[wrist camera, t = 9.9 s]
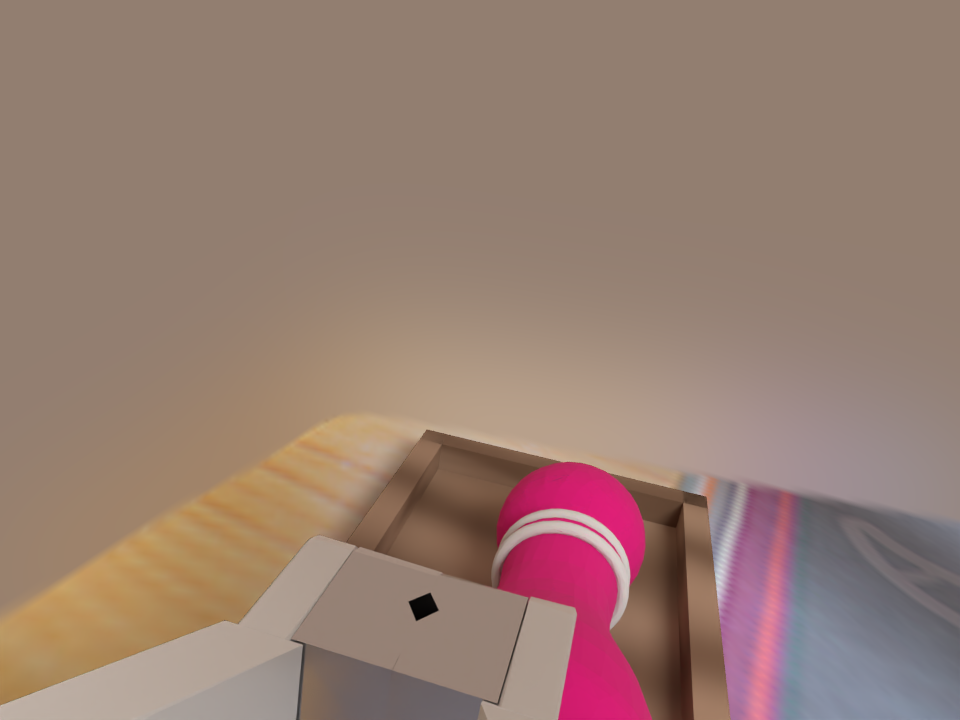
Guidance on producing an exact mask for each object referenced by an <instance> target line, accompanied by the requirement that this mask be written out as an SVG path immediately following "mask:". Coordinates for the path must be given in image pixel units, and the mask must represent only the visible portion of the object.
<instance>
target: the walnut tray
mask: <svg viewBox="0 0 960 720" xmlns="http://www.w3.org/2000/svg"><path fill="white" fill-rule="evenodd" d="M554 463H563V462H559V461H555V460H551V459H547V458H543V457H539V456H534V455H530V454H526V453H522V452H518V451H514V450H510V449H505V448H501V447H497V446H493V445H489V444H485V443H480V442H476V441H472V440H468V439H464V438H460V437H455V436H451V435H447V434H443V433H439V432H435V431H430V430H426V431H425V433H424V434H423V436H422V437H421V438H420V440H419V441H418V443H417V444H416V445H415V447H414V448H413V450H412V451H411V452H410V454H409V455H408V457H407V458H406V459H405V461H404V462H403V464H402V465H401V467H400V468H399V469H398V471H397V472H396V474H395V475H394V476H393V478H392V479H391V481H390V482H389V483H388V485H387V486H386V488H385V489H384V490H383V492H382V493H381V495H380V496H379V497H378V499H377V500H376V502H375V503H374V504H373V506H372V507H371V509H370V510H369V511H368V513H367V514H366V516H365V517H364V518H363V520H362V521H361V523H360V524H359V525H358V527H357V528H356V530H355V531H354V532H353V534H352V535H351V537H350V538H349V539H348V541H347V542H346V543H348V544H351V545H355V546H356V547H358V548H359V547H362V548H365V549H369V550H372V551H375V552H378V553H381V554H385V555H388V556H391V557H394V558H398V559H401V560H404V561H407V562H410V563H414V564H417V565H420V566H423V567H426V568H430V569H433V570H436V571H439V572H442V573H443V574H447V575H451V576H454V577H458V578H461V579H465V580H468V581H472V582H476V583H479V584H483V585H486V586H490V587H492V579H491V571H492V564H493V560H494V558H495V555H496V553H497V551H498V547H497V522H498V518H499V514H500V511H501V509H502V507H503V504H504V502H505V500H506V498H507V496H508V495H509V493H510V492H511V490H512V489H513V488H514V487H515V486H516V485H517V484H518V483H519V482H520V480H521V479H523V478H524V477H525V476H527V475H528V474H530V473H531V472H533V471H535V470H537V469H539V468H541V467H544V466H548V465H551V464H554ZM608 474H609V473H608ZM610 475H611V476H613V477H614V478H616V479H617V480H618V481H619V482H620V483H621V484H622V485H623V486H624V487H625V488H626V489H627V490H628V492H629V493H630V494H631V495H632V497H633V499H634V500H635V502H636V504H637V505H638V508H639V511H640V513H641V516H642V519H643V522H644V529H645V544H646V548H645V553H644V559H643V562H642V565H641V567H640V570H639V573H638V575H637V577H636V578H635V579H634V581H633V582H632V584H631V585H630V587H629V598H628V602H627V606H626V608H625V611H624V613H623V615H622V617H621V618H620V620H619V621H618V622H617V623H616V625H615V626H614V627H613V628H612V629H610V633H611V635H612V637H613V639H614V641H615V642H616V644H617V645H618V647H619V649H620V650H621V652H622V653H623V655H624V657H625V658H626V660H627V661H628V663H629V664H630V666H631V668H632V670H633V672H634V674H635V676H636V678H637V680H638V682H639V685H640V687H641V690H642V693H643V696H644V698H645V701H646V704H647V706H648V709H649V712H650V715H651V717H652V720H730V711H729V702H728V693H727V683H726V674H725V665H724V656H723V646H722V637H721V628H720V619H719V609H718V600H717V591H716V582H715V572H714V563H713V554H712V545H711V535H710V526H709V517H708V508H707V498H706V497H705V496H701V495H697V494H693V493H688V492H684V491H680V490H676V489H672V488H668V487H663V486H659V485H655V484H651V483H647V482H643V481H638V480H634V479H630V478H626V477H622V476H618V475H614V474H610Z"/></svg>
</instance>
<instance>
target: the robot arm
mask: <svg viewBox="0 0 960 720" xmlns="http://www.w3.org/2000/svg"><path fill="white" fill-rule="evenodd" d="M528 602H529V603H528ZM576 617H577V612H576V609H575V608H574V607H570V606H566V605H562V604H558V603H555V602H551V601H547V600H543V599H539V598H535V597H531V598H530V600H529V597H525V596H522V595H518V594H515V593H511V592H507V591H504V590H500V589H497V588H493V587H490V586H486V585H483V584H479V583H476V582H472V581H468V580H465V579H461V578H458V577H454V576H451V575H447V574H443V573H442V572H439V571H436V570H433V569H430V568H426V567H423V566H420V565H417V564H414V563H410V562H407V561H404V560H401V559H398V558H394V557H391V556H388V555H385V554H381V553H378V552H375V551H372V550H369V549H365V548H362V547H359V548H358V547H356V546H355V545H351V544H348V543H344V542H341V541H338V540H334V539H331V538H328V537H324V536H321V535H317V536H315V537H312V538H310V539H309V540H307V542H306V543H305V544H304V545H303V546H302V548H301V549H300V550H299V551H298V552H297V554H296V555H295V556H294V557H293V558H292V560H291V561H290V562H289V563H288V564H287V566H286V567H285V568H284V569H283V570H282V572H281V573H280V574H279V575H278V576H277V578H276V579H275V580H274V581H273V582H272V584H271V585H270V586H269V587H268V588H267V590H266V591H265V592H264V593H263V594H262V596H261V597H260V598H259V599H258V600H257V602H256V603H255V604H254V605H253V606H252V608H251V609H250V610H249V611H248V612H247V614H246V615H245V616H244V617H243V618H242V620H241V621H240V622H239V623H238V624H235V623H232V622H229V621H225V620H224V621H222V622H219V623H216V624H214V625H211V626H208V627H206V628H203V629H200V630H198V631H195V632H192V633H190V634H187V635H185V636H182V637H179V638H177V639H174V640H171V641H169V642H166V643H163V644H161V645H158V646H156V647H153V648H150V649H148V650H145V651H142V652H140V653H137V654H134V655H132V656H129V657H127V658H124V659H121V660H119V661H116V662H113V663H111V664H108V665H105V666H103V667H100V668H98V669H95V670H92V671H90V672H87V673H84V674H82V675H79V676H76V677H74V678H71V679H69V680H66V681H63V682H61V683H58V684H55V685H53V686H50V687H47V688H45V689H42V690H40V691H37V692H34V693H32V694H29V695H26V696H24V697H21V698H18V699H16V700H13V701H11V702H8V703H5V704H3V705H0V720H558V716H559V711H560V705H561V700H562V694H563V689H564V683H565V678H566V672H567V667H568V661H569V656H570V650H571V645H572V639H573V634H574V628H575V623H576Z"/></svg>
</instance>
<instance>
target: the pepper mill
mask: <svg viewBox="0 0 960 720" xmlns="http://www.w3.org/2000/svg"><path fill="white" fill-rule="evenodd" d="M497 547H498V551H497V553H496V555H495V558H494V560H493V564H492V571H491V579H492V587H493V588H497V589H500V590H504V591H507V592H511V593H515V594H518V595H522V596H525V597H529V600H530V598H531V597H535V598H539V599H543V600H547V601H551V602H555V603H558V604H562V605H566V606H570V607H574V608H575V609H576V612H577V617H576V623H575V628H574V634H573V639H572V645H571V650H570V656H569V661H568V667H567V672H566V678H565V683H564V689H563V694H562V700H561V705H560V711H559V716H558V720H652V717H651V715H650V712H649V709H648V706H647V704H646V701H645V698H644V696H643V693H642V690H641V687H640V685H639V682H638V680H637V678H636V676H635V674H634V672H633V670H632V668H631V666H630V664H629V663H628V661H627V660H626V658H625V657H624V655H623V653H622V652H621V650H620V649H619V647H618V645H617V644H616V642H615V641H614V639H613V637H612V635H611V633H610V629H612V628H613V627H614V626H615V625H616V623H617V622H618V621H619V620H620V618H621V617H622V615H623V613H624V611H625V608H626V606H627V602H628V598H629V587H630V585H631V584H632V582H633V581H634V579H635V578H636V577H637V575H638V573H639V570H640V567H641V565H642V562H643V559H644V553H645V548H646V544H645V529H644V522H643V519H642V516H641V513H640V511H639V508H638V505H637V504H636V502H635V500H634V499H633V497H632V495H631V494H630V493H629V492H628V490H627V489H626V488H625V487H624V486H623V485H622V484H621V483H620V482H619V481H618V480H617V479H616V478H614V477H613V476H611V475H610V474H608V473H607V472H606V471H603V470H601V469H598V468H596V467H594V466H591V465H587V464H583V463H575V462H563V463H554V464H551V465H548V466H544V467H541V468H539V469H537V470H535V471H533V472H531V473H530V474H528V475H527V476H525V477H524V478H523V479H521V480H520V482H519V483H518V484H517V485H516V486H515V487H514V488H513V489H512V490H511V492H510V493H509V495H508V496H507V498H506V500H505V502H504V504H503V507H502V509H501V511H500V514H499V518H498V522H497ZM528 603H529V602H528Z"/></svg>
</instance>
